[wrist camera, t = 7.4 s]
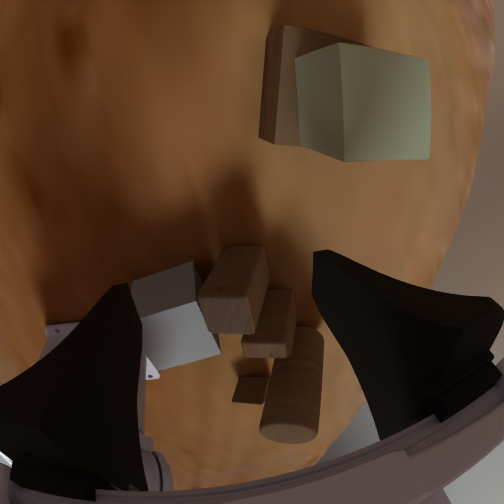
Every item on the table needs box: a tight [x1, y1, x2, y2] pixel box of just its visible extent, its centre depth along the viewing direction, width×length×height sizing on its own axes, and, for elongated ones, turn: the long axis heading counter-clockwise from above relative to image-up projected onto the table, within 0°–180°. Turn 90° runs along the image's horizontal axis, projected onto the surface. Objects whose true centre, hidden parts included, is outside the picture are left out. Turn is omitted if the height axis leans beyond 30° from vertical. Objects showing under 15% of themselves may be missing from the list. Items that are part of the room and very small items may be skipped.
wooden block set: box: [197, 245, 324, 444], centre depth 22 cm, size 18×9×10 cm, turn 9°
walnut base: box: [258, 25, 373, 147], centre depth 16 cm, size 7×7×4 cm
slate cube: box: [130, 261, 222, 371], centre depth 21 cm, size 5×5×5 cm
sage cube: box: [295, 43, 431, 162], centre depth 13 cm, size 5×5×5 cm
